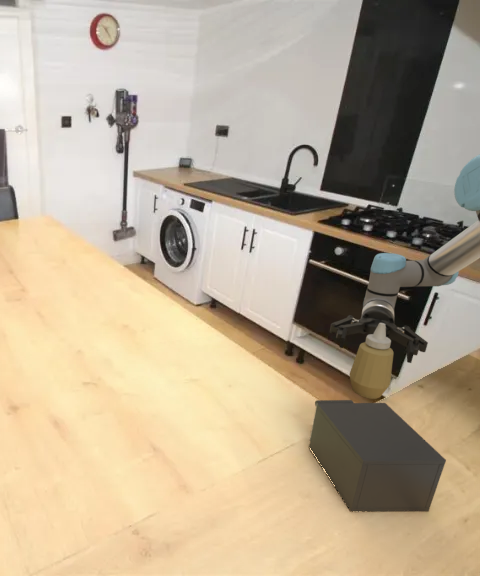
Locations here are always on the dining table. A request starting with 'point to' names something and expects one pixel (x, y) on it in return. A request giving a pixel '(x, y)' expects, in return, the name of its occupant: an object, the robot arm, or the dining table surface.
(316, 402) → the drawer
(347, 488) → the cabinet
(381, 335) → the squeeze bottle
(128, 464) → the dining table surface
